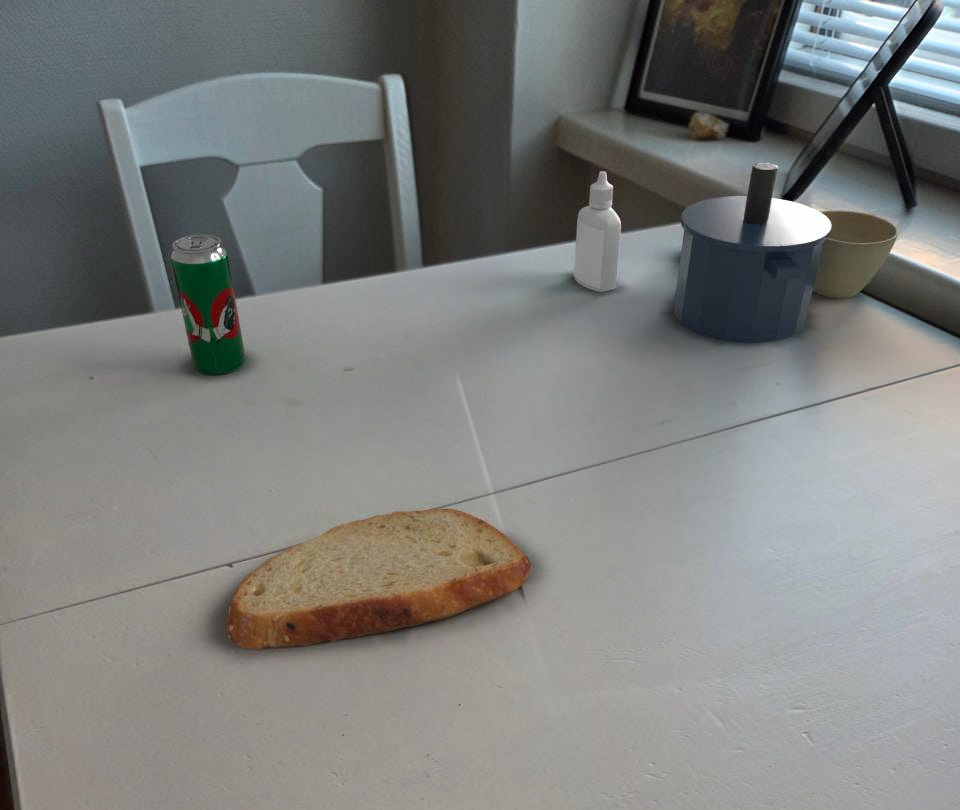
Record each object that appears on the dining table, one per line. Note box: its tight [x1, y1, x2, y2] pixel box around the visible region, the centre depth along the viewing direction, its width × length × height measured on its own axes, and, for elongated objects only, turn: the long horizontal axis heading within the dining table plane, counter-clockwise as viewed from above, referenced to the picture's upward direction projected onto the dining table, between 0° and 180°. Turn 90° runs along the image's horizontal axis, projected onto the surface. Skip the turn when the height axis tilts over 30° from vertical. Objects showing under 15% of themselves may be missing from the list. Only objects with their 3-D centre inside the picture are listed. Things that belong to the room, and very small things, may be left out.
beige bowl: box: [812, 209, 900, 299], centre depth 107 cm, size 10×10×7 cm
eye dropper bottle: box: [573, 170, 622, 293], centre depth 107 cm, size 4×6×12 cm
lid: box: [680, 162, 831, 253], centre depth 96 cm, size 15×15×6 cm
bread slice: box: [225, 508, 532, 651], centre depth 68 cm, size 18×18×4 cm
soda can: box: [170, 234, 247, 376], centre depth 92 cm, size 5×5×12 cm
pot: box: [672, 229, 824, 344], centre depth 101 cm, size 14×19×10 cm
